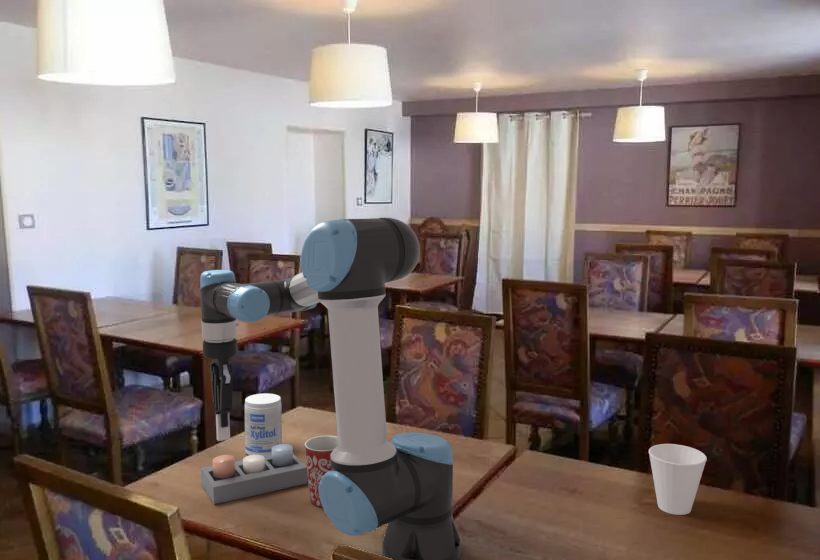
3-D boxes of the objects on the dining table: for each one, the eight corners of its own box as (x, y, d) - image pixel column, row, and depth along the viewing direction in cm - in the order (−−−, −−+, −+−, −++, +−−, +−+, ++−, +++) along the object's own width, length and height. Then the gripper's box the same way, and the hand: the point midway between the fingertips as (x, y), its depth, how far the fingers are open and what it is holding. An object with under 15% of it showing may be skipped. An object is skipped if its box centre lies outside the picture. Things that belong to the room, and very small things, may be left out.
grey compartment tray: (307, 483, 163) (307, 467, 163) (213, 504, 153) (213, 487, 152) (290, 465, 174) (289, 450, 173) (201, 483, 163) (200, 467, 162)
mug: (334, 512, 149) (333, 452, 147) (298, 504, 152) (296, 446, 151) (360, 488, 160) (359, 433, 159) (326, 482, 164) (325, 427, 162)
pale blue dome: (295, 463, 165) (295, 449, 164) (275, 467, 163) (275, 453, 162) (288, 456, 169) (288, 442, 169) (269, 460, 167) (268, 446, 166)
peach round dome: (238, 475, 158) (237, 460, 158) (216, 479, 156) (215, 465, 155) (232, 467, 162) (231, 453, 162) (210, 471, 160) (210, 457, 160)
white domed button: (267, 474, 162) (267, 460, 161) (246, 479, 159) (246, 464, 159) (261, 467, 166) (260, 453, 166) (240, 471, 164) (240, 457, 163)
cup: (667, 523, 144) (670, 467, 142) (635, 498, 155) (637, 446, 154) (715, 516, 147) (719, 461, 145) (680, 492, 159) (683, 441, 157)
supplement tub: (250, 461, 176) (249, 406, 174) (241, 449, 184) (239, 396, 182) (287, 454, 181) (285, 400, 179) (276, 442, 189) (275, 390, 187)
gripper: (244, 342, 151) (247, 445, 154) (228, 331, 162) (232, 427, 166) (209, 346, 147) (213, 451, 151) (196, 335, 159) (200, 433, 162)
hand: (223, 439), depth 158 cm, fingers closed
